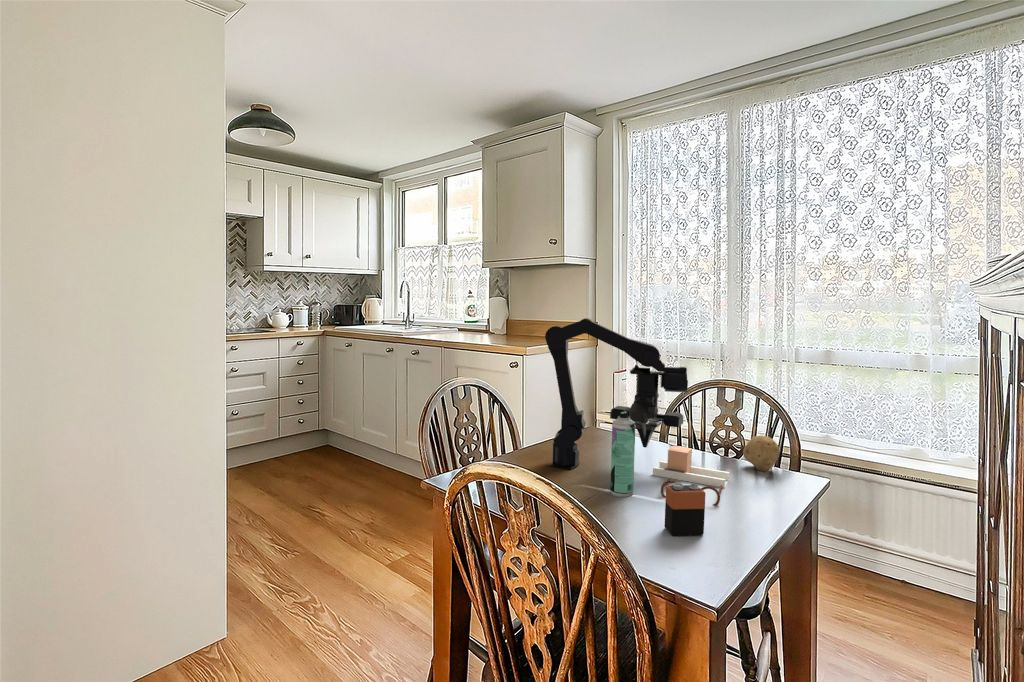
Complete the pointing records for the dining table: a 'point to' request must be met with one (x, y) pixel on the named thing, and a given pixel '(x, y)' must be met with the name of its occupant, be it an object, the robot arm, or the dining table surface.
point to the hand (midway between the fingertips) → (645, 447)
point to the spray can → (622, 456)
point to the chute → (694, 475)
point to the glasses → (701, 488)
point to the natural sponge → (761, 452)
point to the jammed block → (679, 458)
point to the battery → (684, 509)
